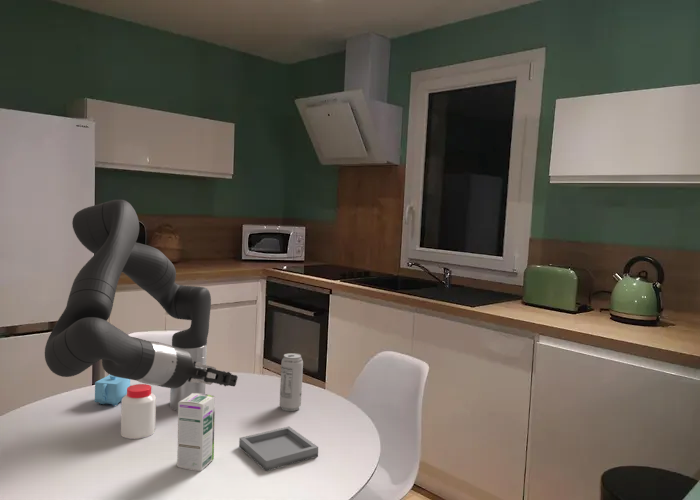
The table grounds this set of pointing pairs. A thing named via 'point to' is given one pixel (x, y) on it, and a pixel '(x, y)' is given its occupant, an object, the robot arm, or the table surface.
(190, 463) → the syrup box
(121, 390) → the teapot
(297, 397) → the energy drink can
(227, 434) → the table surface
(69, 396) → the table surface
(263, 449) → the tray
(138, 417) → the pill bottle
